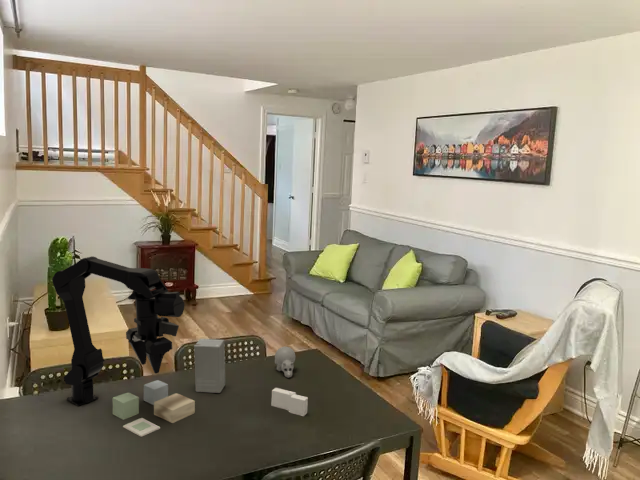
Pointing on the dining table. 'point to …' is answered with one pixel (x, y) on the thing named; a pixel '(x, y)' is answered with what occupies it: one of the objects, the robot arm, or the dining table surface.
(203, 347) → the skincare box
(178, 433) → the dining table surface
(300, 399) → the white stepped block
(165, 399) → the birch block
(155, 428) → the card
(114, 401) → the sage cube
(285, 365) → the round bodied animal figurine
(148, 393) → the blue-grey cube
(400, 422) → the dining table surface
